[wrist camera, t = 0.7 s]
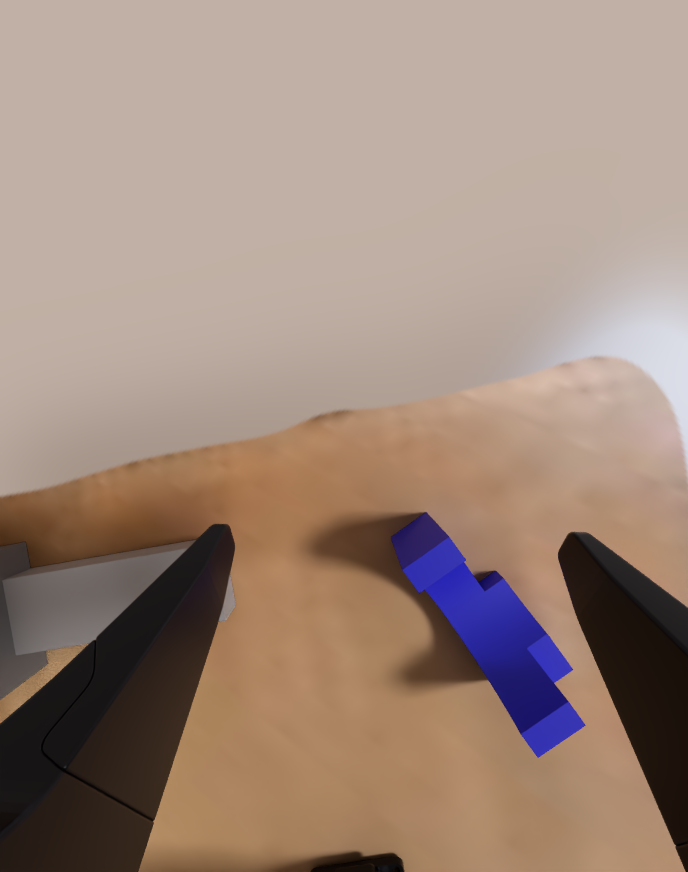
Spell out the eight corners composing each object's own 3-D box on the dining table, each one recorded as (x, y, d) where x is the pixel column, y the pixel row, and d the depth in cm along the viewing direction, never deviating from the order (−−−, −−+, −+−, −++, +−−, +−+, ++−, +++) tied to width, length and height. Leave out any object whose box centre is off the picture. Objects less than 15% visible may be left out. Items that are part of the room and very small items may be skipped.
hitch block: (240, 632, 24) (218, 671, 20) (-70, 683, 25) (-151, 730, 21) (218, 508, 24) (191, 523, 20) (-93, 562, 25) (-178, 587, 21)
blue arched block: (545, 640, 24) (609, 708, 18) (492, 677, 24) (537, 757, 18) (443, 498, 24) (472, 520, 18) (390, 536, 24) (402, 570, 18)
